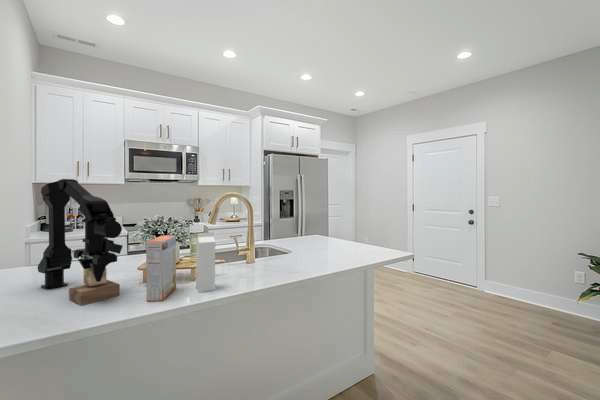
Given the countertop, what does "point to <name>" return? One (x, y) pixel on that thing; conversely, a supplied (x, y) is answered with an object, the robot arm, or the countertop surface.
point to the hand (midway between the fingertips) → (94, 280)
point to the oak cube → (90, 278)
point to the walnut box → (93, 292)
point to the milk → (205, 262)
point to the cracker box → (160, 267)
